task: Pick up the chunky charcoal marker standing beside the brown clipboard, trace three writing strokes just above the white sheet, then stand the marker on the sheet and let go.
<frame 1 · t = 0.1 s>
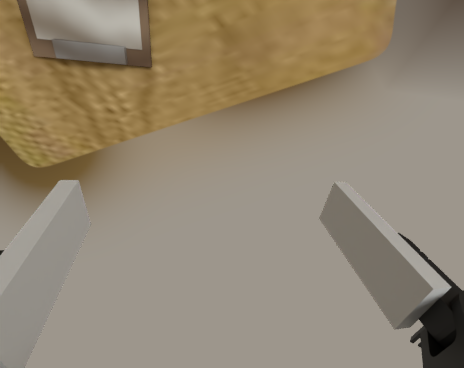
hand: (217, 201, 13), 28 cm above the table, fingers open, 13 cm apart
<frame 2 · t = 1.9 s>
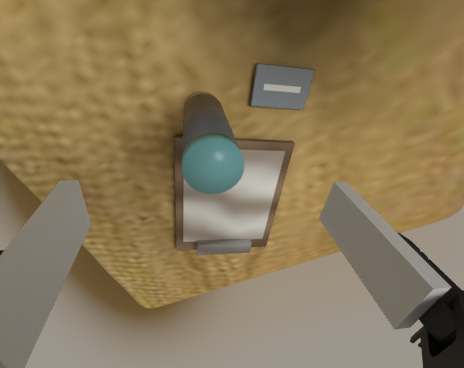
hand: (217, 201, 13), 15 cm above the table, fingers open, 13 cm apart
word card: (280, 87, 25), on the table
clipboard: (228, 200, 33), on the table
marker: (203, 110, 25), on the table
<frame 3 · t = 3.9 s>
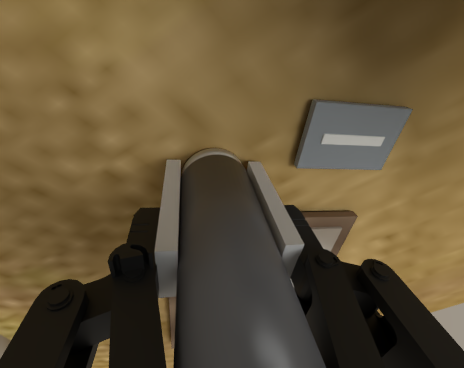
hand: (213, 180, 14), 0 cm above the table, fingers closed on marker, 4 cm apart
word card: (348, 136, 15), on the table
clipboard: (247, 287, 22), on the table
marker: (213, 176, 15), on the table, touching gripper
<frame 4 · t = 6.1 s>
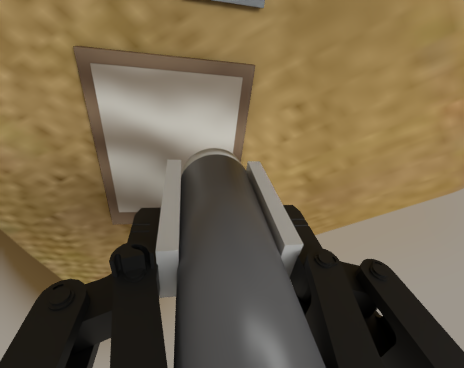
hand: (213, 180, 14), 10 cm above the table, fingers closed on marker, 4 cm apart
clipboard: (173, 154, 24), on the table
marker: (213, 176, 15), point 10 cm above the table, touching gripper
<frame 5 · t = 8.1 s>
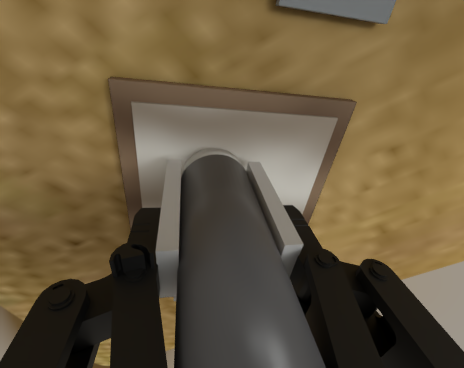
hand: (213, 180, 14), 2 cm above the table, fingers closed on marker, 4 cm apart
clipboard: (226, 210, 19), on the table
marker: (213, 176, 15), point 1 cm above the table, touching gripper
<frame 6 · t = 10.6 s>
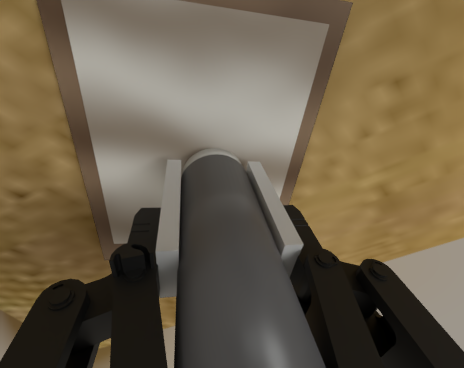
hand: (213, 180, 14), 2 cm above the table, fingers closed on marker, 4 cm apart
clipboard: (199, 156, 16), on the table
marker: (213, 176, 15), point 2 cm above the table, touching gripper
when the fingers open (1 cm above the table, at t = 12.0 s): marker stays where it is, resting on clipboard.
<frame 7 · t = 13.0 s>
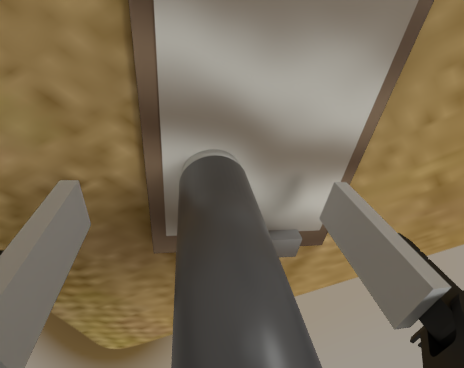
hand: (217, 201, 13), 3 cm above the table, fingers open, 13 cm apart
clipboard: (261, 143, 15), on the table
marker: (212, 176, 15), point 1 cm above the table, touching clipboard
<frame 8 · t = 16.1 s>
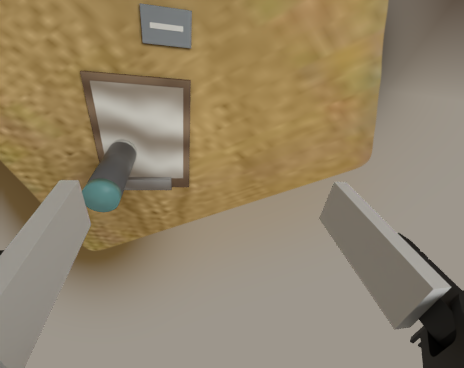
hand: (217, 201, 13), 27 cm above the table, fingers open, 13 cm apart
word card: (167, 27, 30), on the table
clipboard: (144, 137, 37), on the table
marker: (124, 150, 37), point 1 cm above the table, touching clipboard
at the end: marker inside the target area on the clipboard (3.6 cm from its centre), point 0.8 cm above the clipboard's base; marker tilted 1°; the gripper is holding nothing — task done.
